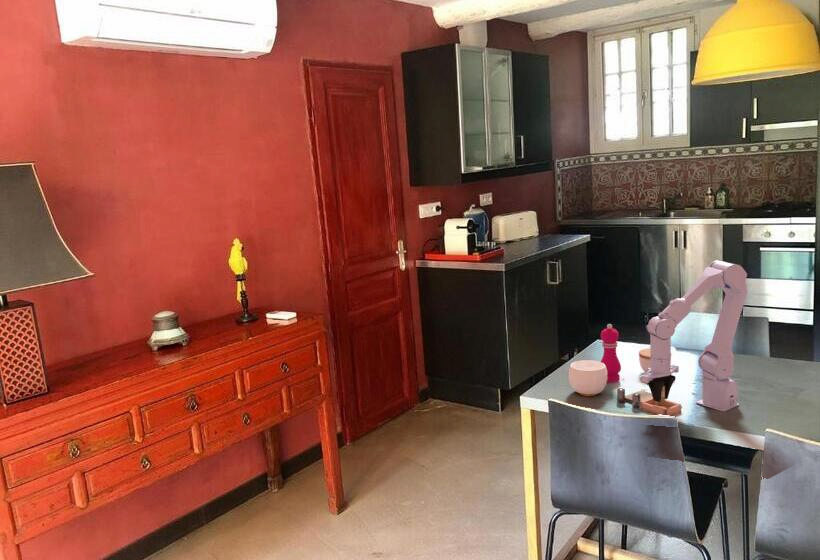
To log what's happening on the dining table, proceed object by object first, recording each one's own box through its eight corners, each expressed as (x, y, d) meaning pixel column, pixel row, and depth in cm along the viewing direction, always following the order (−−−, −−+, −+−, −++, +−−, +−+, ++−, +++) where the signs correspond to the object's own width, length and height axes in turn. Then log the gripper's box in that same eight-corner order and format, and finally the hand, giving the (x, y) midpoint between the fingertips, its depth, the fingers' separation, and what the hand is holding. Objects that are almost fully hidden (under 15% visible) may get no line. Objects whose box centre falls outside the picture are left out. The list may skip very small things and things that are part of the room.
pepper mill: (604, 375, 239) (603, 320, 236) (624, 378, 235) (623, 322, 231) (596, 381, 234) (595, 325, 230) (616, 384, 229) (615, 327, 226)
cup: (579, 402, 216) (578, 373, 214) (563, 389, 228) (562, 362, 226) (614, 396, 218) (614, 368, 217) (596, 384, 230) (596, 357, 229)
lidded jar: (653, 380, 231) (653, 354, 229) (632, 372, 240) (632, 346, 239) (678, 375, 235) (678, 349, 233) (656, 366, 244) (656, 341, 243)
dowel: (666, 405, 204) (666, 386, 203) (660, 407, 203) (660, 388, 202) (659, 402, 207) (659, 383, 206) (653, 404, 206) (653, 385, 205)
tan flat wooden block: (659, 400, 214) (659, 396, 214) (640, 407, 210) (640, 403, 209) (641, 394, 220) (641, 390, 220) (622, 401, 215) (622, 396, 215)
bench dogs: (642, 406, 209) (642, 394, 208) (637, 408, 208) (636, 396, 207) (620, 399, 216) (620, 387, 215) (615, 401, 215) (615, 389, 214)
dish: (681, 411, 203) (681, 404, 203) (665, 417, 200) (665, 410, 199) (655, 403, 211) (655, 396, 211) (640, 408, 207) (640, 402, 207)
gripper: (664, 348, 209) (664, 390, 212) (633, 358, 202) (633, 401, 204) (684, 353, 203) (684, 396, 206) (653, 364, 196) (653, 408, 198)
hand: (660, 399), depth 205 cm, fingers closed on dowel, 3 cm apart
